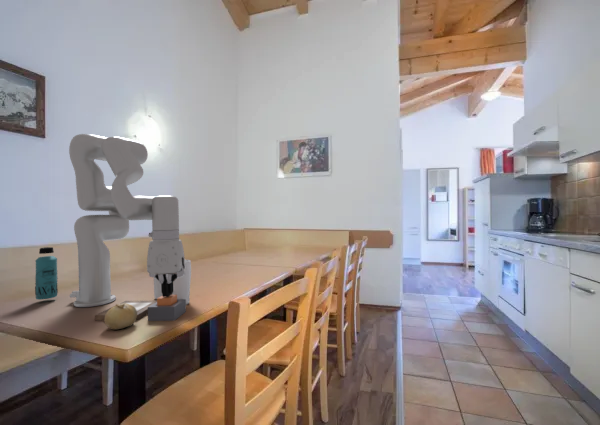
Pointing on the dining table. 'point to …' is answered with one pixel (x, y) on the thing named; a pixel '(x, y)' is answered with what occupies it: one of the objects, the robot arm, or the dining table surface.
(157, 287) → the pill bottle
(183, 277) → the drinking glass
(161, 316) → the button housing
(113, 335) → the dining table surface
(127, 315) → the onion
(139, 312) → the pallet
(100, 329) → the dining table surface
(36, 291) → the beverage bottle
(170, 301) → the button
